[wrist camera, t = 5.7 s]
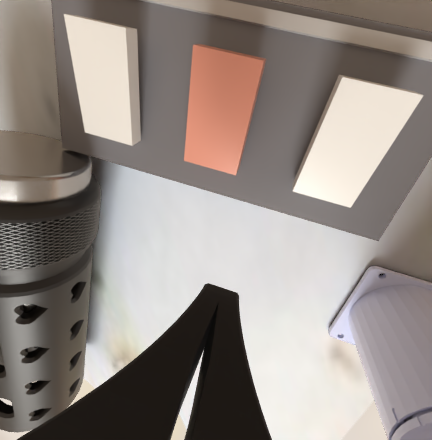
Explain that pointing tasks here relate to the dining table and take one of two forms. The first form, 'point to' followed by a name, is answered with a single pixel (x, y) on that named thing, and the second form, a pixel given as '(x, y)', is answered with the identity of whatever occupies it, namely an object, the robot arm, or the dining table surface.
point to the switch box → (259, 97)
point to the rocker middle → (220, 106)
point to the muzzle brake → (43, 275)
